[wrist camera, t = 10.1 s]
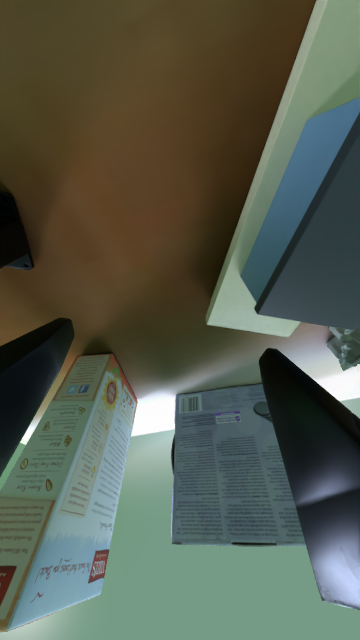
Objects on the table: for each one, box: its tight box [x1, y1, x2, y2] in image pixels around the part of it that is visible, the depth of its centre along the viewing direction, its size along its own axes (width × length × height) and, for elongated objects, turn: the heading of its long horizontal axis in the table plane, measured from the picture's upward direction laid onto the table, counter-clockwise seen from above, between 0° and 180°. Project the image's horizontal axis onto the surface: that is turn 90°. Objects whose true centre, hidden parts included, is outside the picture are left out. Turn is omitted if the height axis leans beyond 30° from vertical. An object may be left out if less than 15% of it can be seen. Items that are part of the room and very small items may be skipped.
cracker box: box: [0, 354, 137, 632], centre depth 23 cm, size 14×6×21 cm, turn 6°
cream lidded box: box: [205, 0, 360, 337], centre depth 14 cm, size 9×20×4 cm, turn 169°
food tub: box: [240, 97, 360, 330], centre depth 11 cm, size 7×9×5 cm
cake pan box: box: [171, 384, 306, 547], centre depth 27 cm, size 19×5×18 cm, turn 105°
